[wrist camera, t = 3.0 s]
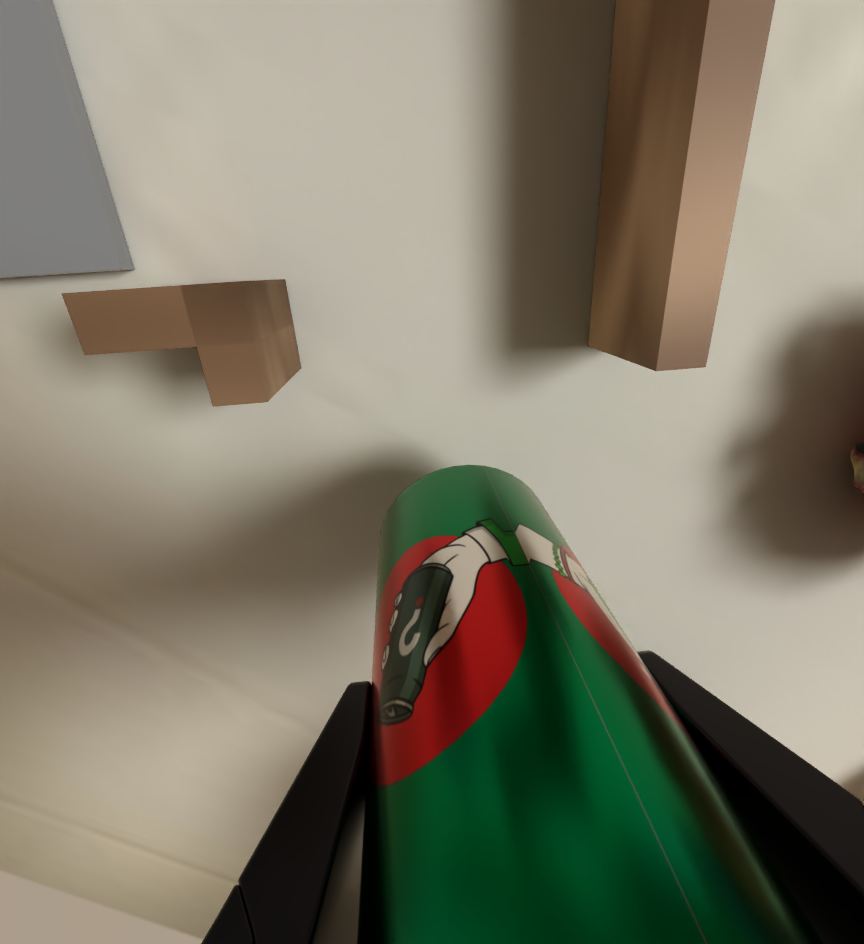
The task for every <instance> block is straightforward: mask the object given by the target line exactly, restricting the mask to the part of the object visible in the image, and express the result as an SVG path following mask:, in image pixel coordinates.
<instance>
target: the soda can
mask: <svg viewBox="0 0 864 944" xmlns="http://www.w3.org/2000/svg"><path fill="white" fill-rule="evenodd" d="M357 944H824V943H823V941H822V940H821V938H820V937H819V935H818V933H817V932H816V930H815V929H814V927H813V926H812V924H811V923H810V921H809V919H808V918H807V916H806V915H805V913H804V912H803V910H802V909H801V907H800V905H799V904H798V902H797V901H796V899H795V898H794V896H793V895H792V893H791V891H790V890H789V888H788V887H787V885H786V884H785V882H784V881H783V879H782V877H781V876H780V874H779V873H778V871H777V870H776V868H775V866H774V865H773V863H772V862H771V860H770V859H769V857H768V856H767V854H766V852H765V851H764V849H763V848H762V846H761V845H760V843H759V842H758V840H757V838H756V837H755V835H754V834H753V832H752V831H751V829H750V828H749V826H748V824H747V823H746V821H745V820H744V818H743V817H742V815H741V814H740V812H739V810H738V809H737V807H736V806H735V804H734V803H733V801H732V799H731V798H730V796H729V795H728V793H727V792H726V790H725V789H724V787H723V785H722V784H721V782H720V781H719V779H718V778H717V776H716V775H715V773H714V771H713V770H712V768H711V767H710V765H709V764H708V762H707V761H706V759H705V757H704V756H703V754H702V753H701V751H700V750H699V748H698V747H697V745H696V743H695V742H694V740H693V739H692V737H691V736H690V734H689V732H688V731H687V729H686V728H685V726H684V725H683V723H682V722H681V720H680V718H679V717H678V715H677V714H676V712H675V711H674V709H673V708H672V706H671V704H670V703H669V701H668V700H667V698H666V697H665V695H664V694H663V692H662V690H661V689H660V687H659V686H658V684H657V683H656V681H655V679H654V678H653V676H652V675H651V673H650V672H649V670H648V669H647V667H646V665H645V664H644V662H643V661H642V659H641V658H640V656H639V655H638V653H637V651H636V650H635V648H634V647H633V645H632V644H631V642H630V641H629V639H628V637H627V636H626V634H625V633H624V631H623V630H622V628H621V627H620V625H619V623H618V622H617V620H616V619H615V617H614V616H613V614H612V612H611V611H610V609H609V608H608V606H607V605H606V603H605V602H604V600H603V598H602V597H601V595H600V594H599V592H598V591H597V589H596V588H595V586H594V584H593V583H592V581H591V580H590V578H589V577H588V575H587V574H586V572H585V570H584V569H583V567H582V566H581V564H580V563H579V561H578V560H577V558H576V556H575V555H574V553H573V552H572V550H571V549H570V547H569V545H568V544H567V542H566V541H565V539H564V538H563V536H562V535H561V533H560V531H559V530H558V528H557V527H556V525H555V524H554V522H553V521H552V519H551V517H550V516H549V514H548V513H547V511H546V510H545V508H544V507H543V505H542V503H541V502H540V500H539V499H538V497H537V496H536V495H535V494H534V492H533V491H532V490H531V489H530V488H529V487H528V486H527V485H526V484H525V483H523V482H522V481H521V480H519V479H518V478H516V477H514V476H513V475H511V474H509V473H507V472H504V471H502V470H499V469H496V468H491V467H487V466H479V465H462V466H453V467H449V468H445V469H441V470H438V471H435V472H433V473H430V474H428V475H426V476H424V477H422V478H421V479H419V480H417V481H415V482H414V483H413V484H412V485H410V486H409V487H408V488H406V489H405V490H404V491H403V492H402V493H401V494H400V495H399V496H398V498H397V499H396V500H395V501H394V503H393V504H392V506H391V507H390V509H389V510H388V512H387V514H386V517H385V519H384V521H383V524H382V528H381V532H380V545H379V562H378V580H377V598H376V615H375V633H374V651H373V668H372V687H371V705H370V722H369V740H368V757H367V774H366V792H365V810H364V827H363V845H362V863H361V880H360V898H359V916H358V933H357Z"/></svg>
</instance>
